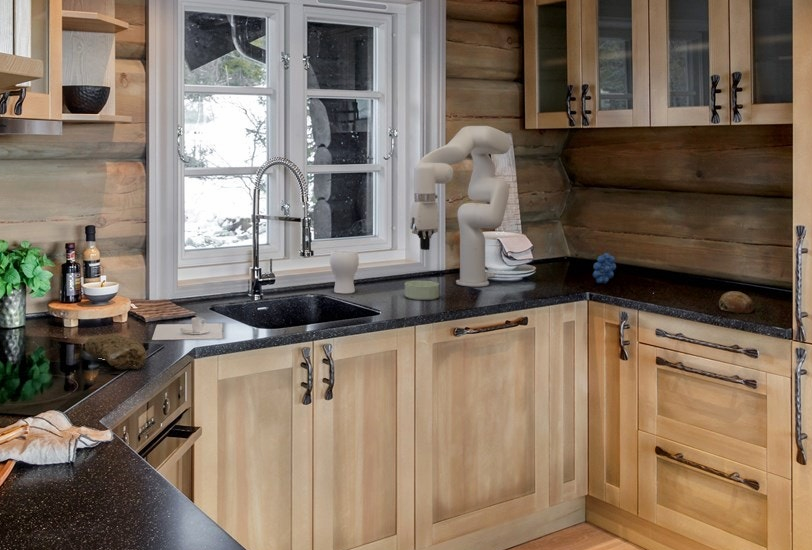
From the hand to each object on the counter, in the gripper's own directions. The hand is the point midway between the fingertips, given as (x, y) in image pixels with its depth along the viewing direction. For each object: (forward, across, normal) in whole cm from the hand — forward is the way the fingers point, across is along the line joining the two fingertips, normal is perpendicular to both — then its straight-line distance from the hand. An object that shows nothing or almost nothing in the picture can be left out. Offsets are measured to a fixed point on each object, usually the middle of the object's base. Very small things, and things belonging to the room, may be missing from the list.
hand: (424, 249), depth 302 cm
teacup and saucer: (+17, +95, +12) cm, 97 cm away
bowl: (+17, +2, +2) cm, 17 cm away
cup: (+17, +21, -21) cm, 34 cm away
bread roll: (+17, -75, +68) cm, 103 cm away
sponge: (+16, +124, +36) cm, 130 cm away
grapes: (+17, -77, +11) cm, 80 cm away
